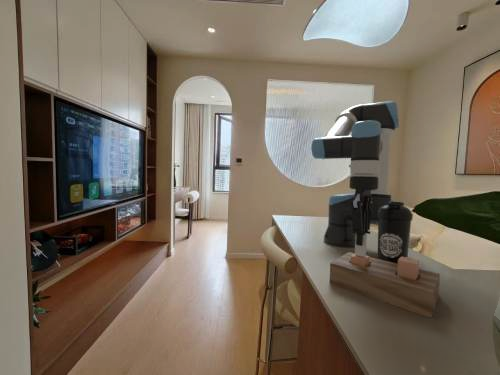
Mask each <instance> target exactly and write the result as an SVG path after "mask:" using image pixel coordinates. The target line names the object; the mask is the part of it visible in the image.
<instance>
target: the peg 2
mask: <svg viewBox="0 0 500 375" xmlns="http://www.w3.org/2000/svg"><path fill="white" fill-rule="evenodd" d="M419 269H420V260H419V259H416V258H411V257H408V258H407V257H402V256H401V257H400V258H399V259H398V269H397V275H398V276H402V277H405V278H409V279H413V280H417V281H418V272H419Z"/></svg>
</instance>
